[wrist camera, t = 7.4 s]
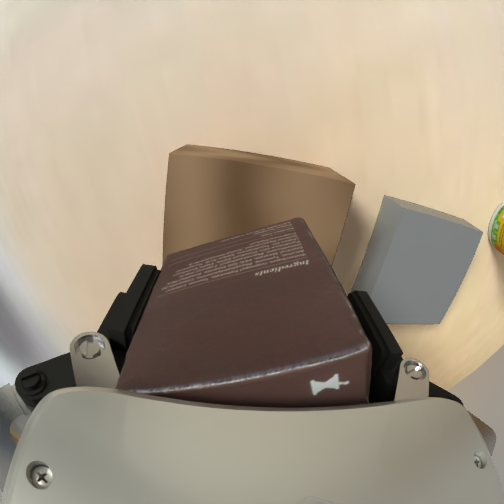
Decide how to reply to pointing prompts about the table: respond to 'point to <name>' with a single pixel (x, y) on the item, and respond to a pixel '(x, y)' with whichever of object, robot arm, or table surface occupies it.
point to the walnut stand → (249, 197)
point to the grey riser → (416, 262)
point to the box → (251, 326)
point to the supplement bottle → (497, 229)
